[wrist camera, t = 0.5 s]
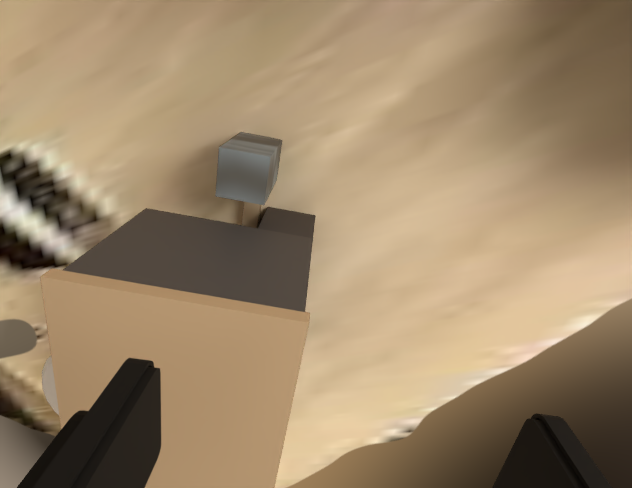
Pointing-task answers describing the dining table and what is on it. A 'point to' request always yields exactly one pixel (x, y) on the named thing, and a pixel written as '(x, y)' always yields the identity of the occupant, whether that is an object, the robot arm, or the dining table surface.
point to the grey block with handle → (248, 172)
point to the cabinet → (191, 336)
